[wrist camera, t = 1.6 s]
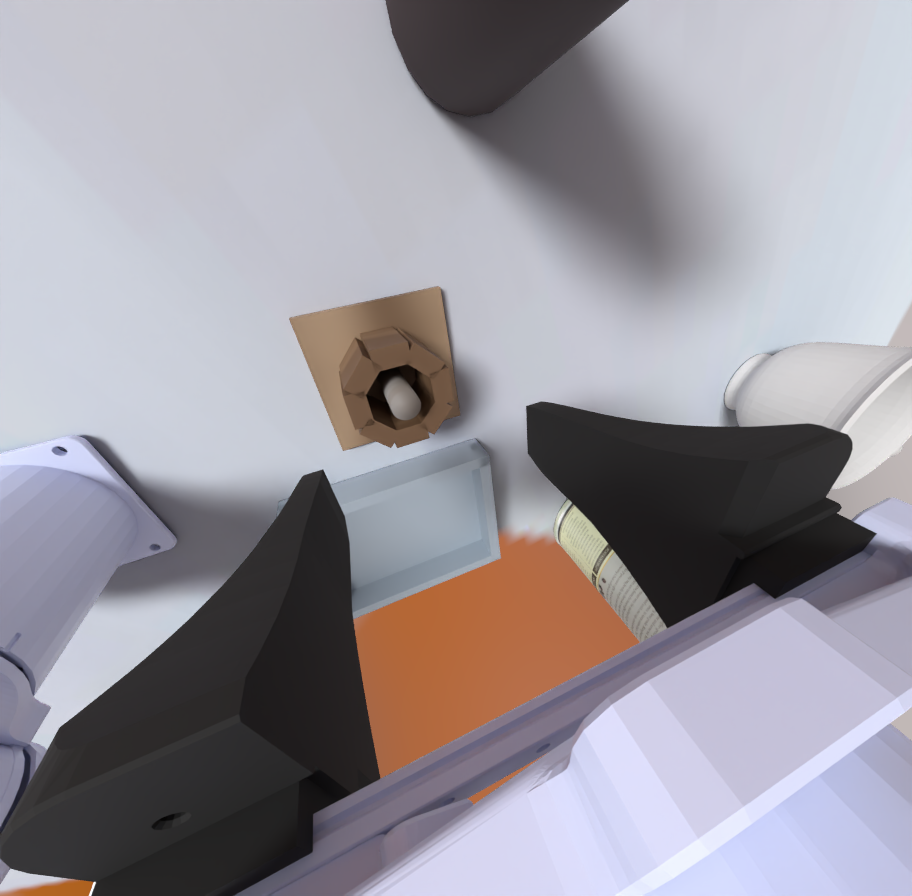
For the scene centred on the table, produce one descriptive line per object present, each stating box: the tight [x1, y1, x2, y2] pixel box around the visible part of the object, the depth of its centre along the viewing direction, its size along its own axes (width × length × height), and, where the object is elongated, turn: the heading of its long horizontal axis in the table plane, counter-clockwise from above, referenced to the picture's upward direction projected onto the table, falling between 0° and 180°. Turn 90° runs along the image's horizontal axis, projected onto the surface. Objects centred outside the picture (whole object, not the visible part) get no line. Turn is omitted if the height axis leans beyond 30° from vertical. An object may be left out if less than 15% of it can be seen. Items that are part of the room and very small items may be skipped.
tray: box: [276, 439, 500, 619], centre depth 25 cm, size 14×11×2 cm
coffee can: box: [554, 499, 667, 642], centre depth 28 cm, size 10×10×14 cm
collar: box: [339, 326, 454, 448], centre depth 18 cm, size 5×5×4 cm
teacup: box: [724, 342, 912, 489], centre depth 29 cm, size 12×15×10 cm
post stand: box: [289, 286, 460, 451], centre depth 17 cm, size 8×8×6 cm
